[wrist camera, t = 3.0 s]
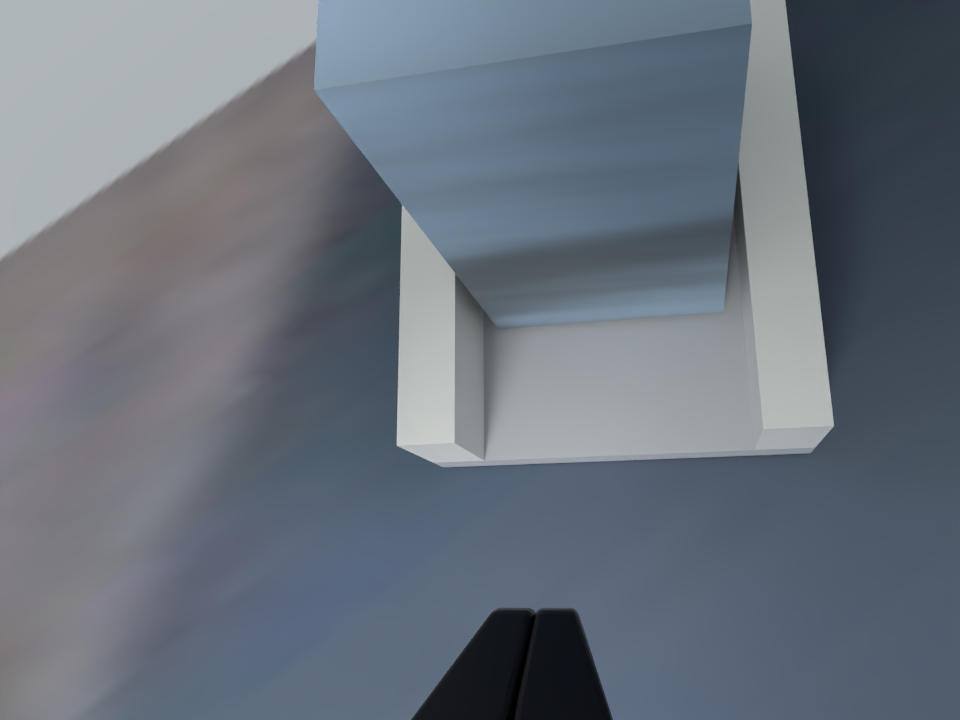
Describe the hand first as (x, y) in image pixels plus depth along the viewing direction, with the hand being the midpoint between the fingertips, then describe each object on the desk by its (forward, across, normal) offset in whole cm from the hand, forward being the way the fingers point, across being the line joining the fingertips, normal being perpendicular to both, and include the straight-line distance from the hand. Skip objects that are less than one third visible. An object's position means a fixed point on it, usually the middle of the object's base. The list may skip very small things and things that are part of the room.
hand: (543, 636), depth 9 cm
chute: (+13, 0, +1) cm, 13 cm away
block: (+13, 0, +1) cm, 13 cm away
